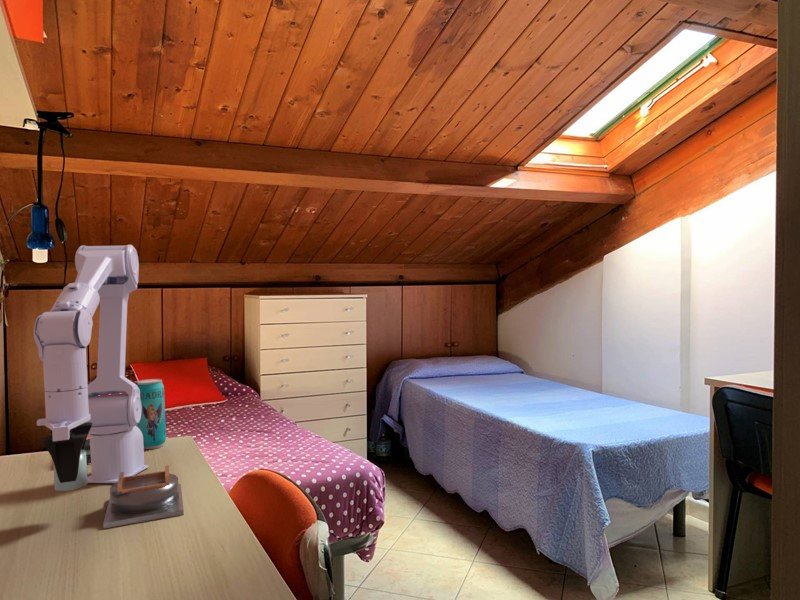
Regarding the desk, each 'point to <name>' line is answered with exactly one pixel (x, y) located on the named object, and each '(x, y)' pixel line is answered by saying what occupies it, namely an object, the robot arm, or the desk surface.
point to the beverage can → (152, 413)
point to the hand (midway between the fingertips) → (70, 476)
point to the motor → (143, 498)
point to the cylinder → (81, 476)
